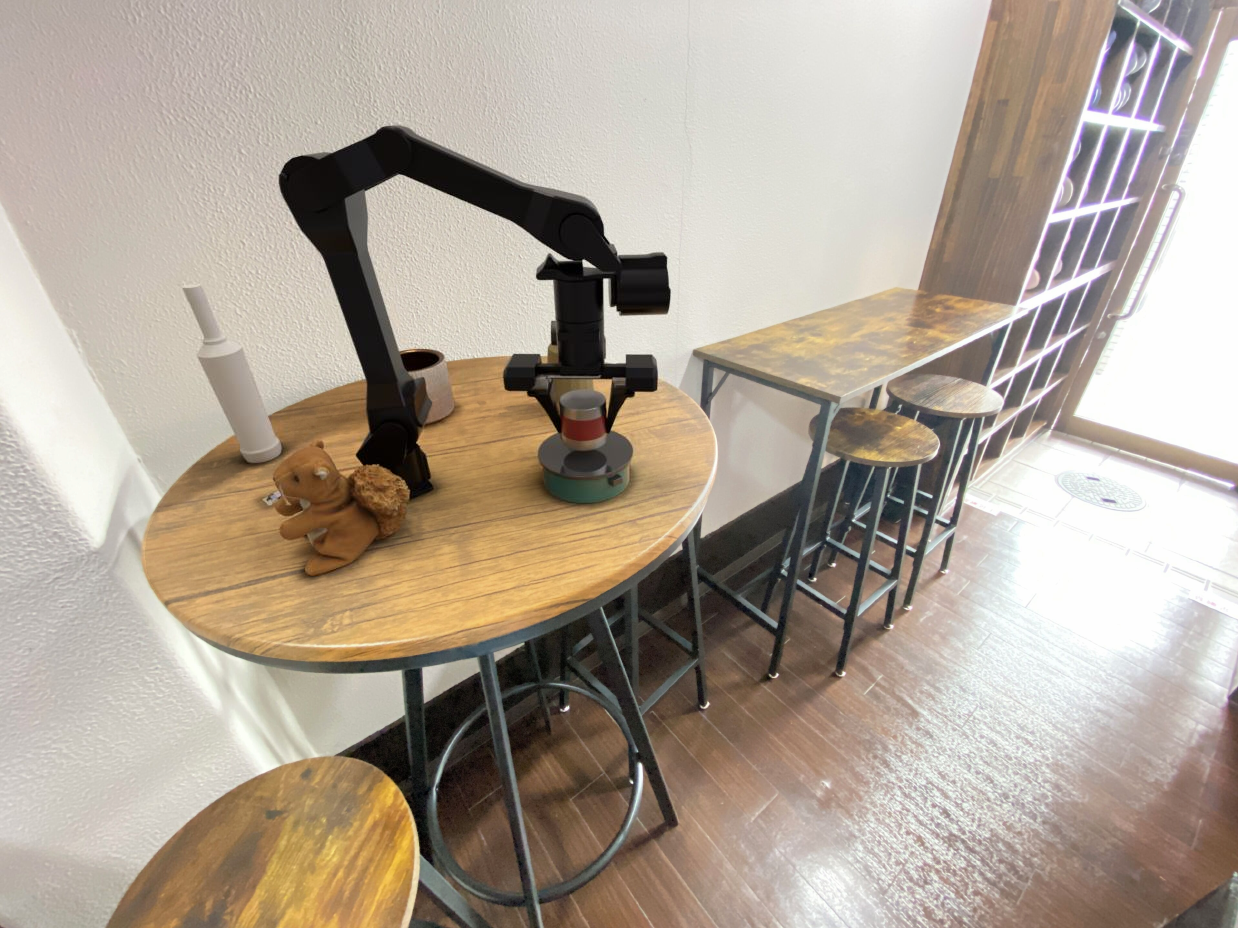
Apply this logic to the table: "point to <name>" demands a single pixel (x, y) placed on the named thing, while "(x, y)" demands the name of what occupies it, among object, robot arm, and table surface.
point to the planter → (431, 379)
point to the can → (583, 419)
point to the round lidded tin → (586, 469)
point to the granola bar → (272, 498)
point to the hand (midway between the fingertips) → (584, 431)
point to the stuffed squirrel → (337, 506)
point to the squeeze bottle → (567, 384)
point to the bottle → (233, 383)
